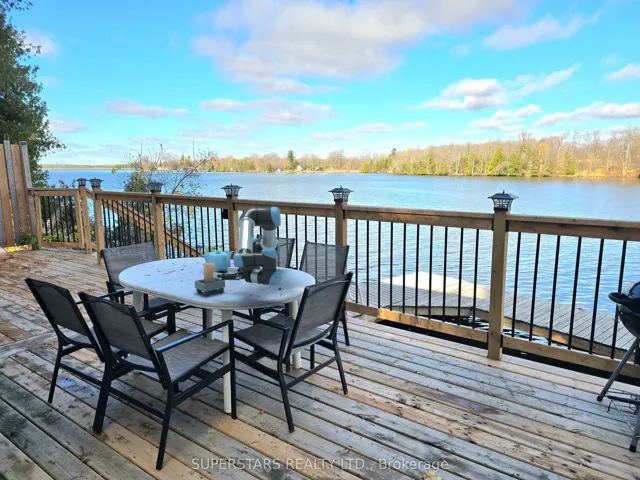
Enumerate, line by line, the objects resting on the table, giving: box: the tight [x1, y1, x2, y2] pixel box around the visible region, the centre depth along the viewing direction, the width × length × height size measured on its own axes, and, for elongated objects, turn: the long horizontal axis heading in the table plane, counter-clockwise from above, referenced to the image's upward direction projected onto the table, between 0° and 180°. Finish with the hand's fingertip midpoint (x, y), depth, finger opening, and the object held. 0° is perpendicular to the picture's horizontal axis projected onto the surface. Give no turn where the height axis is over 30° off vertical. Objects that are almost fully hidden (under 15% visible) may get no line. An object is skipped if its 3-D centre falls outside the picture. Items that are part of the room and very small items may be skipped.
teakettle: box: [201, 249, 235, 273], centre depth 276 cm, size 19×19×15 cm
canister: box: [203, 262, 216, 284], centre depth 225 cm, size 6×6×12 cm
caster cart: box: [194, 278, 226, 297], centre depth 226 cm, size 13×11×7 cm
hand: (220, 272), depth 221 cm, fingers open, 13 cm apart
